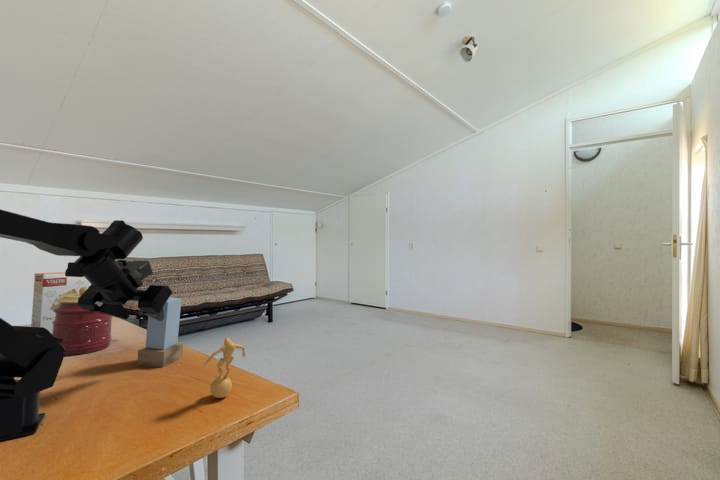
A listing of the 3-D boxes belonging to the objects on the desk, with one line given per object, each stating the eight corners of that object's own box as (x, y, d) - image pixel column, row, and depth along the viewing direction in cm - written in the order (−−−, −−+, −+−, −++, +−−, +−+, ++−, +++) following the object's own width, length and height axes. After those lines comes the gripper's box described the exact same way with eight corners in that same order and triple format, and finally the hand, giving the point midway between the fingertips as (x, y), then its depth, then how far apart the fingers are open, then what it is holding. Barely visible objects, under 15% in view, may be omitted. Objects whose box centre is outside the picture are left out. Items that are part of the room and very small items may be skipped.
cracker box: (39, 346, 92) (42, 273, 93) (29, 343, 95) (33, 272, 95) (95, 335, 105) (98, 271, 106) (85, 332, 107) (88, 270, 108)
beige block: (163, 368, 78) (163, 351, 78) (137, 366, 79) (138, 350, 79) (182, 358, 85) (183, 343, 85) (158, 357, 86) (159, 342, 86)
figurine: (235, 387, 68) (237, 330, 68) (250, 396, 64) (252, 335, 64) (194, 401, 61) (196, 338, 62) (208, 411, 57) (210, 344, 58)
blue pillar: (163, 349, 80) (168, 302, 80) (145, 347, 80) (149, 299, 80) (177, 343, 85) (181, 298, 85) (160, 341, 85) (164, 296, 85)
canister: (78, 358, 83) (81, 290, 84) (37, 354, 85) (40, 288, 86) (122, 343, 96) (125, 285, 97) (85, 341, 98) (88, 283, 99)
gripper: (168, 249, 71) (197, 293, 81) (93, 247, 73) (130, 290, 84) (138, 288, 63) (174, 331, 73) (54, 285, 65) (101, 328, 75)
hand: (145, 318), depth 77 cm, fingers open, 9 cm apart
